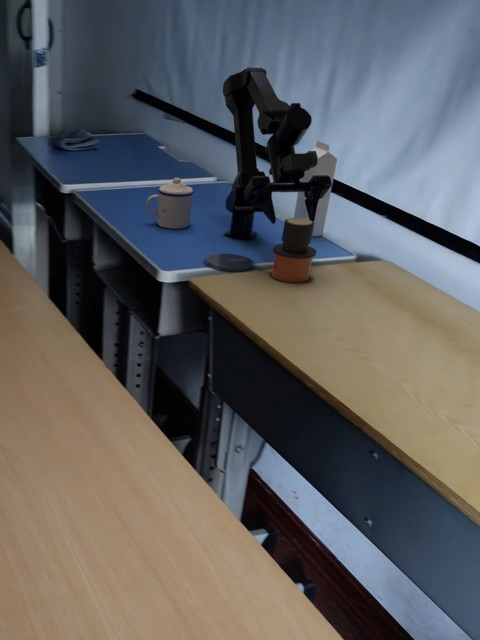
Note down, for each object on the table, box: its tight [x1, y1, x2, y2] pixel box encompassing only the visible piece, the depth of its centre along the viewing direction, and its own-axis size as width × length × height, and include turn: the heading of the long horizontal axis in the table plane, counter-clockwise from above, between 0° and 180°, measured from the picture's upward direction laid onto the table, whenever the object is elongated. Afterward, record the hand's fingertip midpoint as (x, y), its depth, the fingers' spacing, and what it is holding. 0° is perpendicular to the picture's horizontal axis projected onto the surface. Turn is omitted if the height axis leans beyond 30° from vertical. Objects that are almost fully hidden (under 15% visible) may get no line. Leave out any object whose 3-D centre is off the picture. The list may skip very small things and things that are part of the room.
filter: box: [272, 217, 318, 259], centre depth 185 cm, size 10×10×8 cm
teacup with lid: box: [146, 177, 194, 230], centre depth 219 cm, size 12×9×12 cm
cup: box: [271, 253, 314, 283], centre depth 188 cm, size 8×8×6 cm
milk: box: [293, 140, 338, 237], centre depth 212 cm, size 6×6×22 cm
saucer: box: [205, 253, 254, 272], centre depth 195 cm, size 11×11×1 cm
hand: (293, 222), depth 185 cm, fingers open, 9 cm apart
